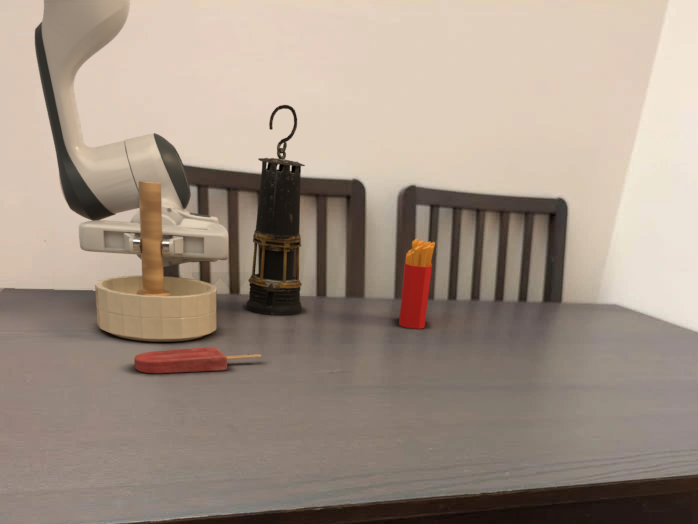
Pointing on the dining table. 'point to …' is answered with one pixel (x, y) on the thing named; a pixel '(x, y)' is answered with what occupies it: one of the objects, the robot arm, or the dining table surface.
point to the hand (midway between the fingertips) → (151, 247)
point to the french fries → (416, 284)
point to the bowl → (156, 309)
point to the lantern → (277, 234)
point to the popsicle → (185, 360)
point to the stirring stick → (151, 239)
